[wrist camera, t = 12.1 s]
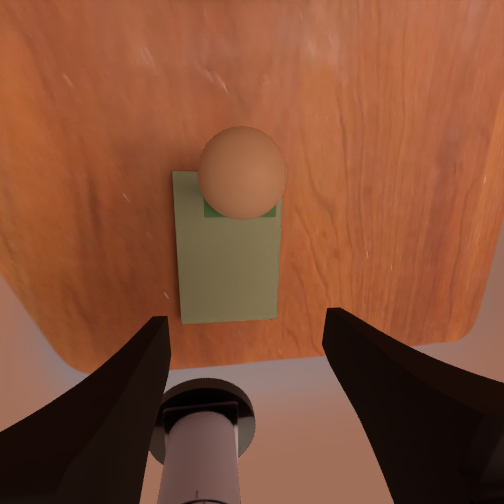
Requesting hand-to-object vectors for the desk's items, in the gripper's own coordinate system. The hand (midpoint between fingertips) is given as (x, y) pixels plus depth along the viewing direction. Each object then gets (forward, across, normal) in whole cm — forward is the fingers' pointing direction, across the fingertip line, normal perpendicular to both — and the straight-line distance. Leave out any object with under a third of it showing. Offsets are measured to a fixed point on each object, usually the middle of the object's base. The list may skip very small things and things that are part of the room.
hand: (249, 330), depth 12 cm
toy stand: (+10, 0, 0) cm, 11 cm away
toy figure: (+5, 0, -5) cm, 7 cm away
